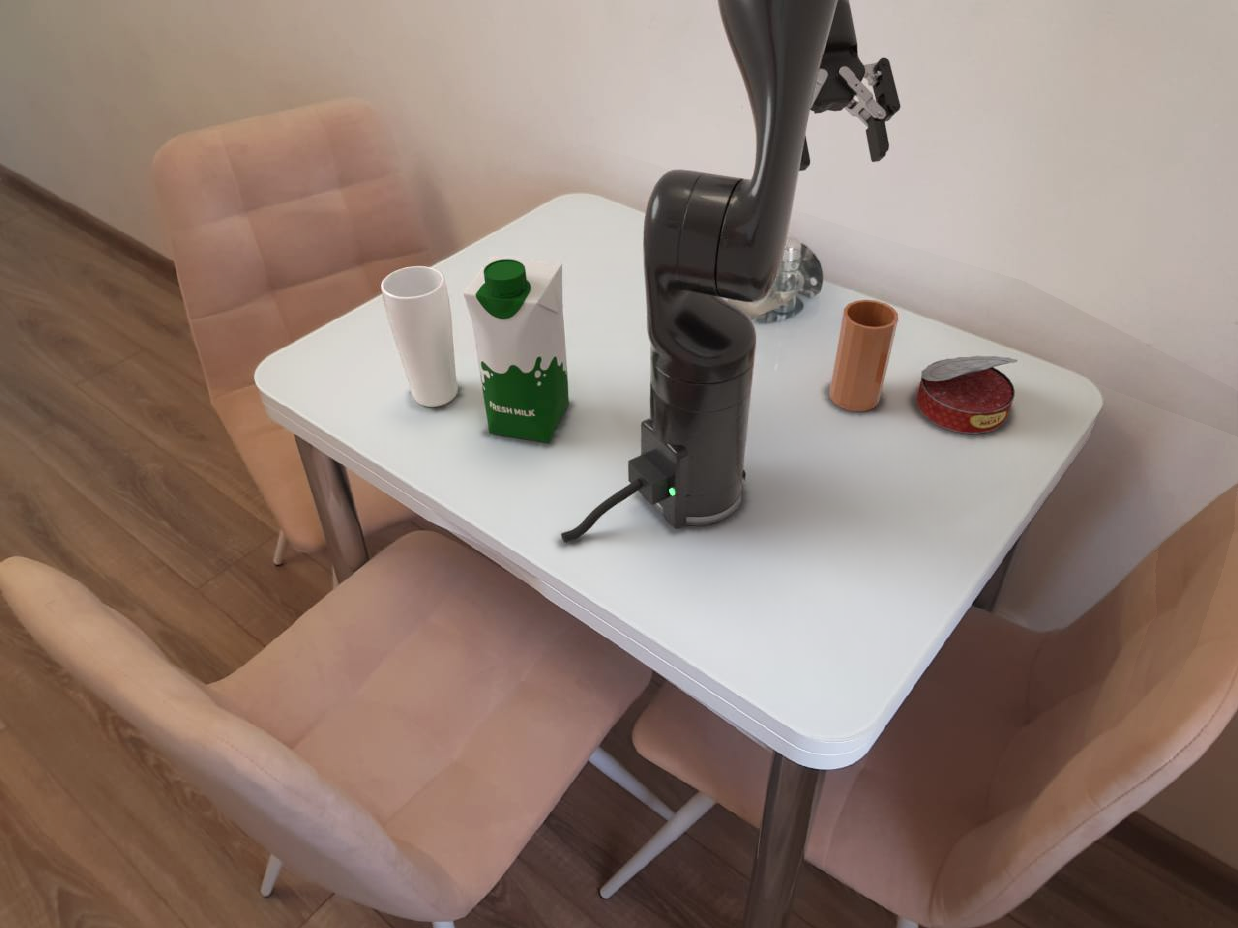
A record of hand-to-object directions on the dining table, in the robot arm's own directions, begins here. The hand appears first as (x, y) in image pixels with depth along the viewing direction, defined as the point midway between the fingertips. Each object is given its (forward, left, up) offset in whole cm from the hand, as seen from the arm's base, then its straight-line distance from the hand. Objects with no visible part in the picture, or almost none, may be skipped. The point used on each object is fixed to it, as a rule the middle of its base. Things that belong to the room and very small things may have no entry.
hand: (842, 163), depth 94 cm
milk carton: (-37, +7, -23) cm, 43 cm away
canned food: (+4, -19, -23) cm, 30 cm away
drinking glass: (-44, +17, -23) cm, 52 cm away
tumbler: (-4, -11, -22) cm, 25 cm away
